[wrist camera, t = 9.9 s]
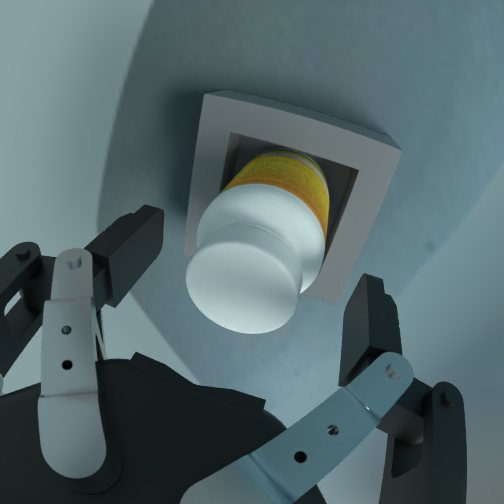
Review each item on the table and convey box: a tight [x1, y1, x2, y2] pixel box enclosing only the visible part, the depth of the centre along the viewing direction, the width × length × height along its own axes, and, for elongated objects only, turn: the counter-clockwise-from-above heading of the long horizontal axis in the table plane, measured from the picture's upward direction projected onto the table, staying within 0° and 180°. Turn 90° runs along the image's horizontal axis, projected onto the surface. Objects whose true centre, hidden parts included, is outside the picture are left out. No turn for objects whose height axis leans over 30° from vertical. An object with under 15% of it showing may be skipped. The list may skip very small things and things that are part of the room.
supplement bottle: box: [186, 148, 330, 334], centre depth 15 cm, size 5×5×10 cm
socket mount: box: [183, 90, 402, 304], centre depth 18 cm, size 10×10×4 cm
